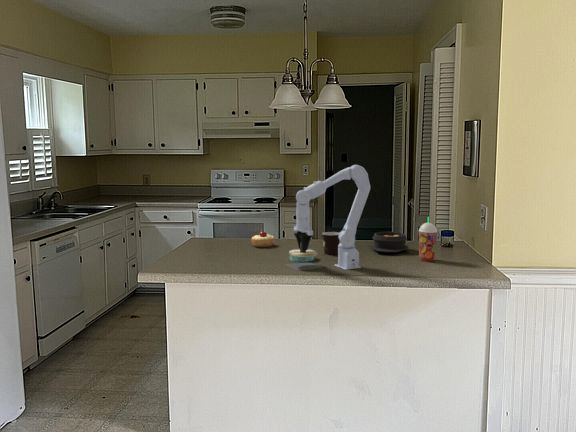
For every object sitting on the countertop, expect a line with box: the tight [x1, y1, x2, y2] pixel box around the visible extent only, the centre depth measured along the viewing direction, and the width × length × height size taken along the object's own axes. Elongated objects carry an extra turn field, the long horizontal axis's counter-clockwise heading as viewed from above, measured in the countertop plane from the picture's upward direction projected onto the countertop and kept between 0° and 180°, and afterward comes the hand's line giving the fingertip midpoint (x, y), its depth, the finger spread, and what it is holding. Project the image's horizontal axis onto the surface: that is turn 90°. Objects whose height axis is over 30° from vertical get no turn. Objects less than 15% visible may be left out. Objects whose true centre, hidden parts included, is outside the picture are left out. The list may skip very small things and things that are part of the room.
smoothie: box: [417, 216, 438, 263], centre depth 248 cm, size 8×8×20 cm
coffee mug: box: [321, 231, 340, 256], centre depth 265 cm, size 12×9×10 cm
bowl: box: [289, 248, 315, 263], centre depth 252 cm, size 11×11×4 cm
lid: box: [288, 242, 318, 257], centre depth 237 cm, size 12×12×5 cm
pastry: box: [251, 228, 275, 248], centre depth 285 cm, size 12×12×9 cm
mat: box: [285, 261, 323, 271], centre depth 238 cm, size 12×12×1 cm
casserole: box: [370, 231, 410, 254], centre depth 271 cm, size 25×19×8 cm
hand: (303, 249), depth 237 cm, fingers closed on lid, 3 cm apart
